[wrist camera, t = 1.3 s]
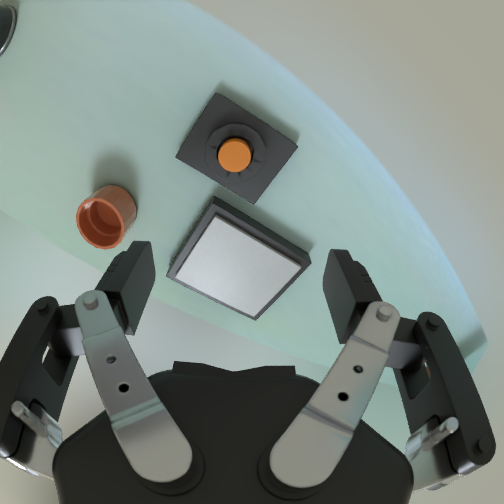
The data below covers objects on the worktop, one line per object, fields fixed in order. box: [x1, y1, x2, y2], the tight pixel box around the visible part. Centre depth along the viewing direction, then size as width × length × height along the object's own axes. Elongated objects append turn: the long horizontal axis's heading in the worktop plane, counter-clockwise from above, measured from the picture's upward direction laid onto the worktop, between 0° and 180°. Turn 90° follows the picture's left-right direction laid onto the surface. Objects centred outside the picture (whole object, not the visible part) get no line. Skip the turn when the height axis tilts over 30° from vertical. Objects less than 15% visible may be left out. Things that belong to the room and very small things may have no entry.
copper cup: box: [76, 185, 136, 249], centre depth 30 cm, size 6×6×5 cm
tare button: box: [218, 138, 251, 172], centre depth 26 cm, size 3×3×2 cm
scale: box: [166, 196, 311, 321], centre depth 35 cm, size 14×12×3 cm
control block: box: [175, 93, 298, 204], centre depth 27 cm, size 10×8×3 cm
